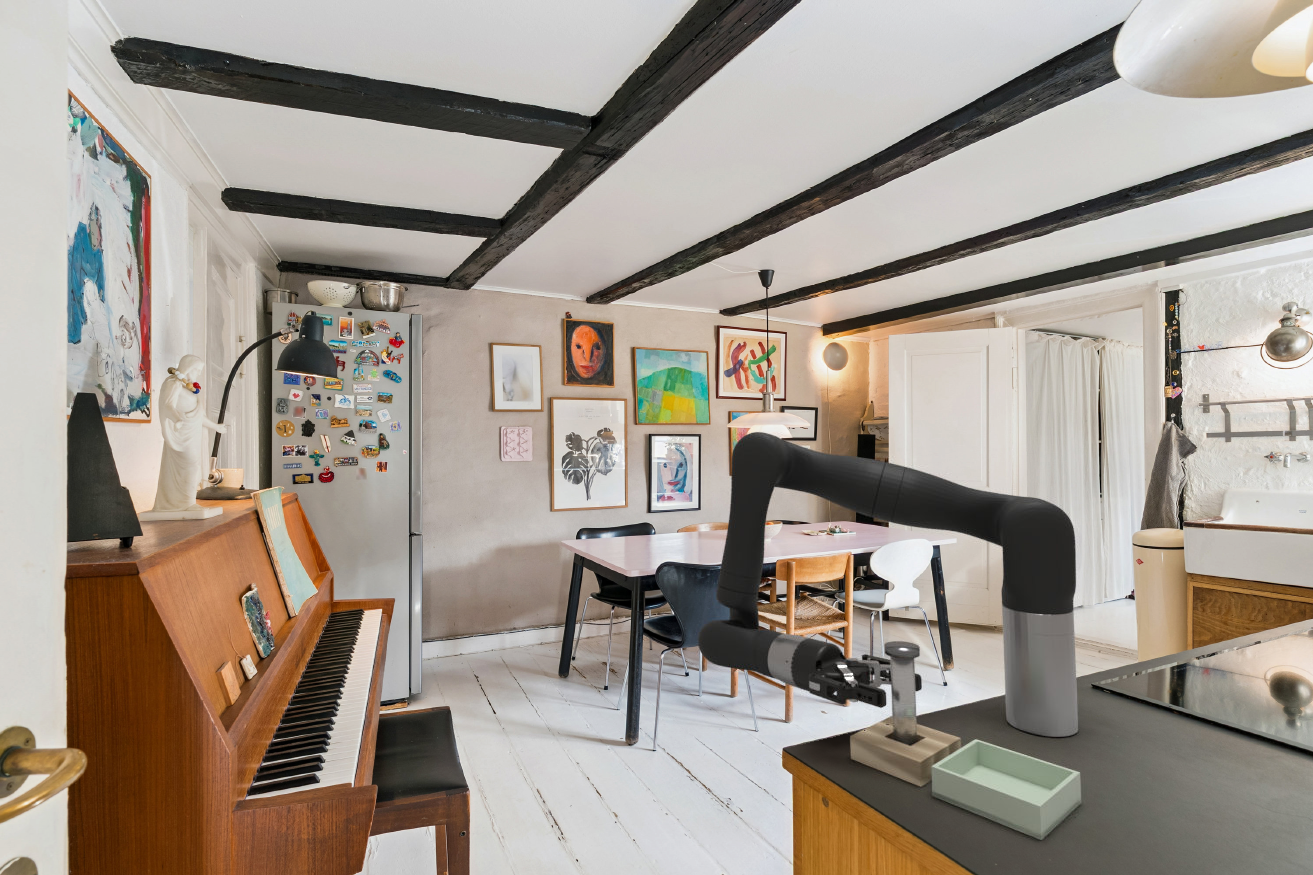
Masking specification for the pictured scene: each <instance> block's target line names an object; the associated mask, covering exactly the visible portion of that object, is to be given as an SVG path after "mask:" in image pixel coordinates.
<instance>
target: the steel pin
mask: <svg viewBox="0 0 1313 875" xmlns="http://www.w3.org/2000/svg"><path fill="white" fill-rule="evenodd" d="M883 648H884V655H886V656H888V657H889V660H890V664H891V685H890V687H891V689H890V690H891V693H890V694H891V714H892V715H891V716H892V723H893V740H895V741H897V742H900V743H903V744H906V745H909V746H912V745H913V744H915V743H917V724H918V723H917V722H918V721H917V698H916V697H917V696H916V692H917V691H915V673H916V672H915V671H916V670H915V669H916V666H915V659H916V658H920V656H921V651H920V650H921V648H920V646H919V645H918V644H916V643H914V642H910V641H903V640H902V641H901V640H896V641H894V640H893V641H888V642H885V643H884V646H883Z"/></svg>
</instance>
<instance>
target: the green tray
mask: <svg viewBox="0 0 1313 875" xmlns="http://www.w3.org/2000/svg"><path fill="white" fill-rule="evenodd" d="M931 769H932V780H931V791H932V792H931V793H932V794H931V795H932V797H934V798H936V799H939V800H941V801H944V802H945V803H948V804H951V805H953V806H956V807H958V808H961V809H963V810H966V811H968V812H971V813H973V814H975V815H977V816H981V817H983V818H986V819H987V820H989V821H993V822H995V823H997V824H1000V825H1002V826H1004V827H1008V828H1010V829H1013V830H1015V831H1018V832H1020V833H1022V834H1025V835H1027V836H1030V837H1032V838H1035V839H1037V840H1039V841H1042V840H1043V839H1045V838H1046V837H1047V836H1048V835H1049V834H1050V833H1051V832H1052V831H1054V829H1055V828H1057V827H1058V826H1059V825H1060V824H1061V823H1062V822H1063V821H1064V820H1065V819H1066V818H1067V817H1068V816H1069V815H1070V814H1071V813H1073V811H1075V809H1077V808H1078V807H1079V806H1080V805H1081V804H1082V789H1081V788H1082V786H1081V785H1082V784H1081V783H1082V782H1081V772H1079V771H1077V770H1074V769H1070V768H1067V767H1064V766H1061V765H1058V764H1055V763H1051V762H1048V761H1045V760H1042V759H1039V758H1036V757H1033V756H1029V755H1026V754H1023V753H1021V752H1017V751H1014V750H1010V749H1008V748H1005V747H1001V746H998V745H995V744H992V743H990V742H987V741H982V740H979V739H976V738H975V739H974V740H972V741H970V742H968V743H967V744H964V746H961V748H960V749H959V750H957V751H956V752H954V753H952V754H951V755H949V756H947V757H946V758H944V759H943V760H941V761H939V762H938V763H936V764H934V765H933V766H931Z"/></svg>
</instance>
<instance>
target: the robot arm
mask: <svg viewBox="0 0 1313 875" xmlns="http://www.w3.org/2000/svg"><path fill="white" fill-rule="evenodd" d="M775 488H778V489H779V488H780V489H785V490H792V491H798V492H802V493H806V494H807V493H808V494H809V495H810V494H811V495H812V496H813V495H814V496H817V497H820V498H823V499H825V500H826V501H828V502H830V503H833V504H836V505H838V506H840V507H842V508H844V509H847V510H849V511H852V512H855V513H858V514H861V515H863V516H866V517H870V518H872V519H873V518H874V519H877V520H879V521H885V522H888V523H892V524H898V525H902V526H907V527H912V528H913V527H914V528H921V529H927V530H939V531H947V532H956V533H959V534H960V533H961V534H964V535H967V536H971V537H974V538H977V539H979V540H982V541H985V542H988V543H991V544H994V545H996V546H999V547H1001V548H1002V569H1003V570H1002V573H1003V574H1002V575H1003V576H1002V586H1001V612H1002V614H1001V615H1002V616H1001V617H1002V634H1003V639H1002V640H1003V643H1002V644H1003V664H1004V666H1003V670H1004V690H1005V691H1004V692H1005V693H1004V694H1005V696H1004V697H1005V715H1006V716H1005V719H1006V721H1007V722H1008V724H1010V726H1013V727H1014V728H1016V729H1018V730H1020V731H1024V732H1026V733H1029V734H1033V735H1039V736H1043V737H1044V736H1045V737H1053V738H1054V737H1055V738H1056V737H1059V738H1060V737H1069V736H1073V735H1075V734H1076V733H1078V732H1079V718H1078V714H1079V713H1078V691H1077V690H1078V688H1077V686H1078V685H1077V666H1076V665H1077V663H1076V662H1077V660H1076V639H1075V637H1076V635H1075V613H1074V609H1075V608H1074V597H1075V594H1076V589H1077V560H1076V559H1077V556H1076V555H1077V554H1076V553H1077V552H1076V550H1077V549H1076V536H1075V528H1074V525H1073V522H1072V520H1071V518H1070V517H1069V515H1068V514H1067V513H1066V512H1065V511H1064V509H1062V508H1060V507H1059V506H1058V505H1056V504H1054V503H1051V502H1049V501H1047V500H1045V499H1041V498H1038V497H1032V496H1021V495H1019V496H1018V495H1012V494H1005V493H999V492H992V491H987V490H986V491H985V490H980V489H976V488H972V487H968V486H966V485H965V486H964V485H961V484H959V483H956V482H954V481H951V480H948V479H946V478H944V477H943V478H942V477H940V476H937V475H935V474H934V475H933V474H931V473H927V472H924V471H922V470H918V469H914V468H912V467H908V466H905V465H904V466H903V465H899V464H897V463H896V464H895V463H892V462H889V461H888V462H886V461H882V460H877V459H873V458H866V457H859V456H852V455H851V456H850V455H839V454H832V453H826V452H820V451H817V450H814V449H810V448H808V447H804V446H802V445H799V444H797V443H796V444H795V443H793V442H789V441H787V440H785V439H782V438H780V437H778V436H776V435H774V434H770V433H768V432H767V433H766V432H764V431H763V432H761V431H755V432H749V433H747V434H746V435H744V436H743V437H741V438H739V440H738V441H737V443H736V444H735V445H734V447H733V450H732V453H731V488H730V492H731V494H730V506H729V515H728V517H729V518H728V524H727V531H726V538H725V543H724V548H723V553H722V559H721V563H720V564H721V565H720V569H719V570H720V571H719V574H718V575H719V576H718V581H717V585H716V586H717V587H716V595H715V596H716V600H717V601H718V603H719V604H720V605H722V606H723V607H726V608H729V618H728V619H720V620H719V619H718V620H712V621H709V622H707V623H705V624H704V625H703V627H701V629H700V631H699V633H698V636H697V645H698V648H699V651H700V653H701V654H702V656H703V657H704V659H706V660H707V661H708V662H709V663H710V664H711V663H712V664H713V665H715V666H716V665H717V666H720V667H723V668H730V669H736V670H743V671H751V672H756V673H758V674H760V675H763V676H766V677H769V678H771V679H775V680H778V681H780V682H781V683H784V684H786V685H788V686H791V687H794V688H798V689H800V690H804V691H807V692H808V693H809V694H811V695H814V696H817V697H819V698H822V699H825V700H827V701H830V702H833V703H835V704H839V705H846V704H847V700H848V701H849V702H852V703H858V702H861V703H864V704H867V705H871V706H874V707H877V708H880V709H882V708H884V707H886V706H887V692H886V690H885V689H883V688H880V687H881V685H890V686H891V664H890V658H889V659H887V658H883V657H880V656H879V657H878V656H875V655H871V654H868V653H867V654H862V655H861V659H859V658H857V657H847V658H846V657H845V656H844V653H843V652H842V649H841V648H840V647H839V646H838V645H837V644H834V643H832V642H827V641H823V640H819V639H815V638H810V637H806V636H803V635H798V634H790V633H789V634H787V633H784V632H780V631H776V630H772V629H766V628H761V629H760V618H759V609H758V608H759V607H758V606H759V605H758V597H759V591H760V587H761V580H762V575H763V568H764V563H765V562H764V560H765V559H764V558H765V534H766V522H767V516H768V512H769V511H768V510H769V506H770V503H771V498H772V496H773V492H774V489H775ZM871 676H874V677H873V680H871ZM922 681H923V680H922V676H921V675H920V674H919V673H917V672H915V692H919V691H921V690H922V687H923V686H922V683H923V682H922ZM835 693H836V694H835Z"/></svg>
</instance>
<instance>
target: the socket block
mask: <svg viewBox="0 0 1313 875" xmlns="http://www.w3.org/2000/svg"><path fill="white" fill-rule="evenodd" d="M886 724H889V725H886ZM864 730H865V731H864ZM849 736H850V737H849V739H850V740H849V741H850V742H849V743H850V759H851V760H853V761H855V762H858V763H861V764H862V765H866V766H868V767H870V768H872V769H876V770H878V771H880V772H883V773H886V774H888V775H891V776H893V777H896V778H898V779H901V780H903V781H905V782H908V783H911V784H913V785H915V786H917V787H920V788H921V787H923V786H924V785H926V784H928V783H930V782H932V769H931V766H933V765H934V764H936V763H938V762H939V761H941V760H943V759H944V758H946V757H947V756H949V755H951V754H952V753H954V752H956V751H957V750H959V749H960V748H962V742H961V741H962V738H961V737H958V736H956V735H952V734H949V733H946V732H943V731H940V730H937V729H934V728H931V727H927V726H925V725H921V724H918V723H917V743H915V744H913V745H912V746H909V745H906V744H903V743H900V742H897V741H895V740H893V723H892V715H891V716H888V717H887V718H885V719H882V720H881V721H878V722H876V723H874V724H872V725H870V726H868V727H866V728H864V729H861V730H860V731H858V732H856V733H854V734H852V735H849Z"/></svg>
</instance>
